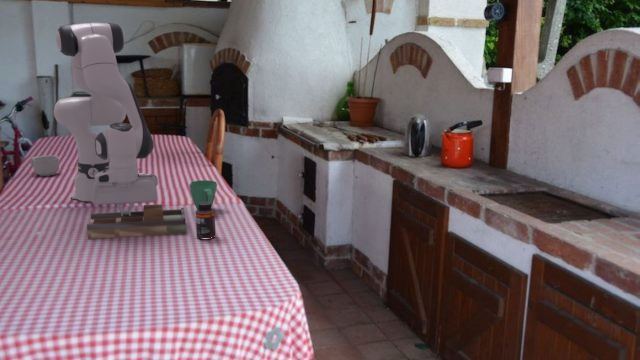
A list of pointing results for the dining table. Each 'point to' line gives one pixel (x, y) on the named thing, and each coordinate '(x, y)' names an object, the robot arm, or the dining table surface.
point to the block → (153, 212)
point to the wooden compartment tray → (135, 224)
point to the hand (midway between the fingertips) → (126, 216)
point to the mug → (203, 191)
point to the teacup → (45, 165)
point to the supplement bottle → (205, 220)
